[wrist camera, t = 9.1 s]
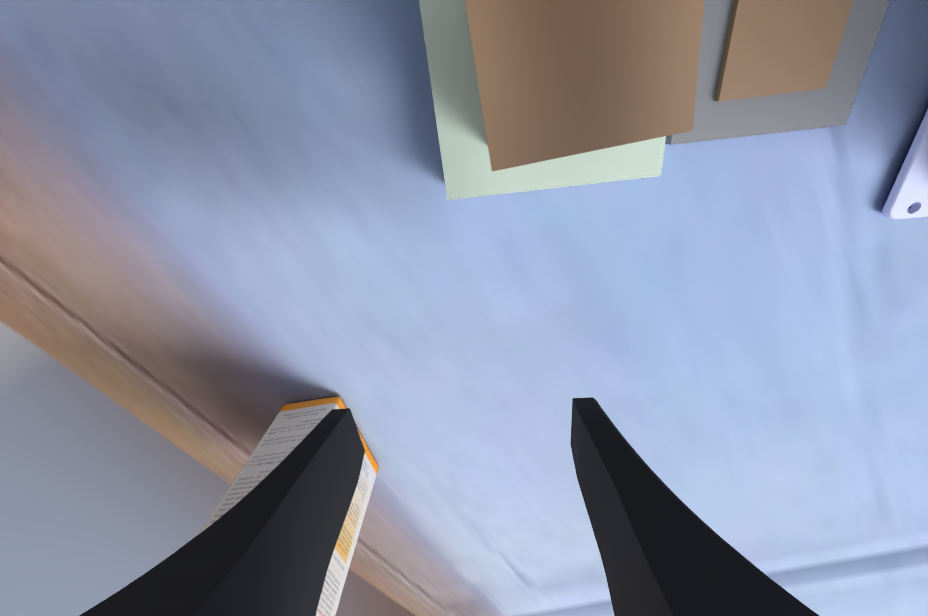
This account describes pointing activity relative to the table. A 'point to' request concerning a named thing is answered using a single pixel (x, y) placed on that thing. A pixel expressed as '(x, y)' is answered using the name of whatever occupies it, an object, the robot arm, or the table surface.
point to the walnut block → (583, 73)
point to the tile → (780, 65)
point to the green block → (466, 126)
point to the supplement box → (272, 451)
